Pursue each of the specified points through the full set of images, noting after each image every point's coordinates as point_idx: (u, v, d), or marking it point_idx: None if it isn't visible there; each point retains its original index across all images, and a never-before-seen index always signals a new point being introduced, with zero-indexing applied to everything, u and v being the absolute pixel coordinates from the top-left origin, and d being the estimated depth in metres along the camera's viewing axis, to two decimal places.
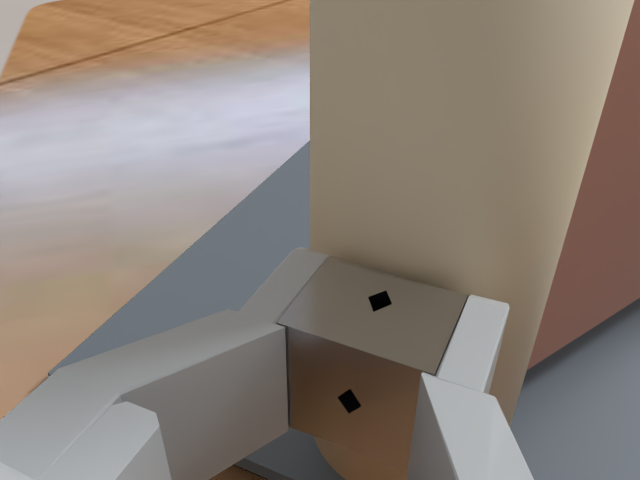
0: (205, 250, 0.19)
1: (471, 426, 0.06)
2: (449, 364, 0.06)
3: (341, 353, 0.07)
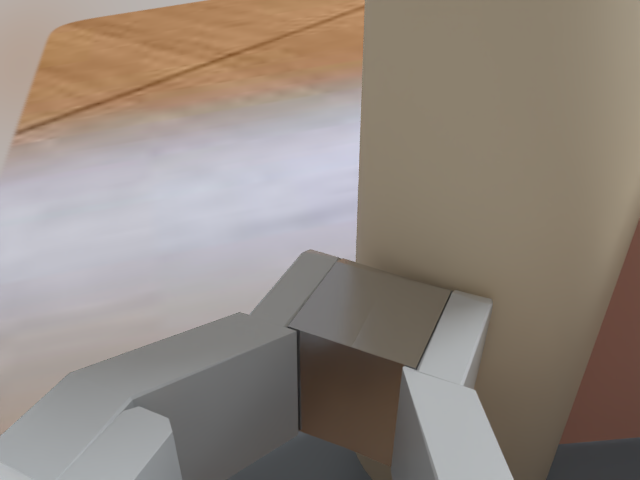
0: None
1: (449, 418, 0.06)
2: (431, 358, 0.06)
3: (353, 357, 0.07)
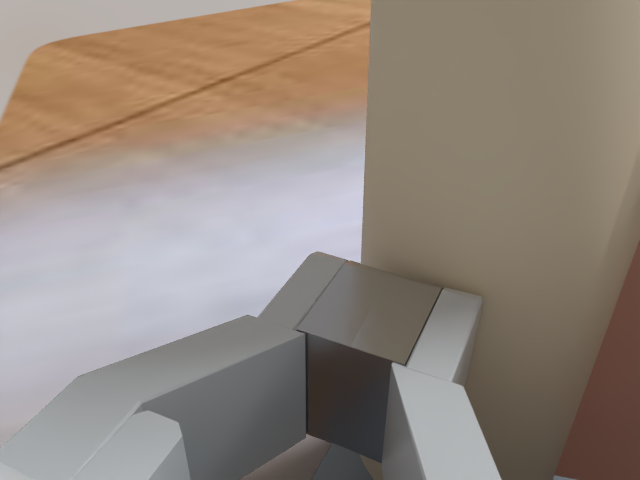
0: None
1: (437, 414, 0.06)
2: (420, 354, 0.07)
3: (362, 360, 0.07)
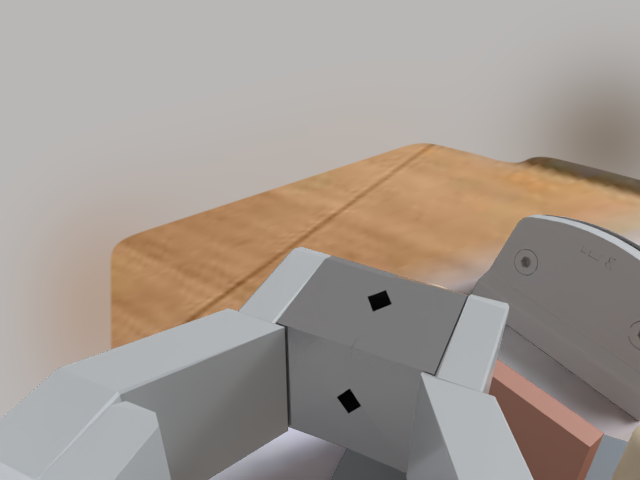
0: None
1: (470, 426, 0.06)
2: (449, 364, 0.06)
3: (340, 353, 0.07)
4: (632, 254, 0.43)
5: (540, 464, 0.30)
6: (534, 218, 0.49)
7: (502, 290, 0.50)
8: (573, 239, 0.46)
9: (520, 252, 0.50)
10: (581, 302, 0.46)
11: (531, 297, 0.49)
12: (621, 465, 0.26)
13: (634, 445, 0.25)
